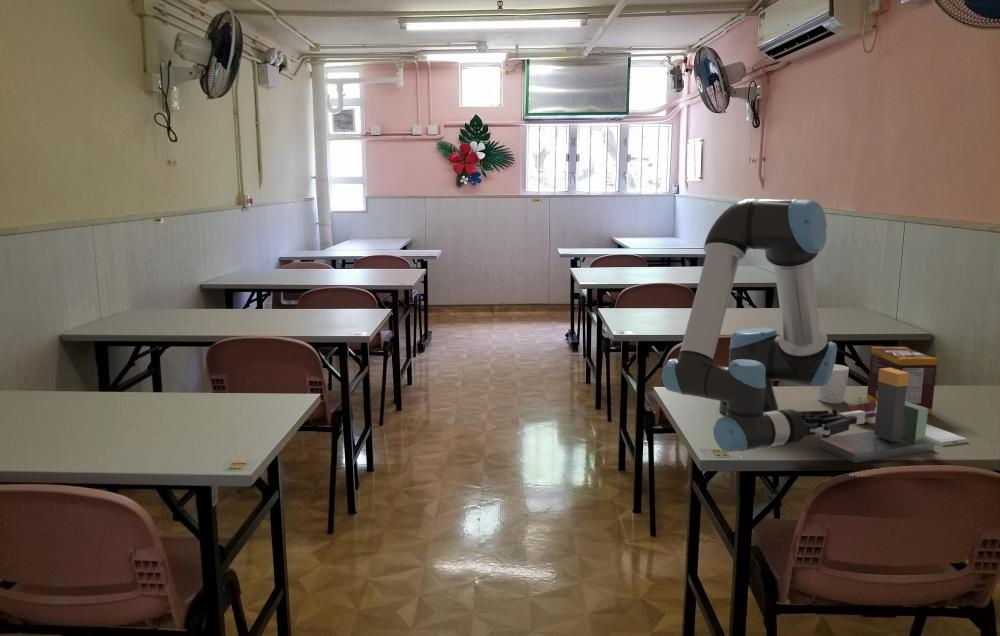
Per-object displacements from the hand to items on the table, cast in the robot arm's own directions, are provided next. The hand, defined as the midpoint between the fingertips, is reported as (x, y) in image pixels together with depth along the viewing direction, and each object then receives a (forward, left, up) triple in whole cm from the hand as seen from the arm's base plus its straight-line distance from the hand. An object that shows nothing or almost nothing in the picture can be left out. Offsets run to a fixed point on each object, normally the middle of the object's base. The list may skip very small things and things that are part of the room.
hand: (862, 416), depth 173 cm
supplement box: (+6, +46, -9) cm, 47 cm away
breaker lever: (+5, +7, -6) cm, 11 cm away
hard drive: (+15, +22, -9) cm, 28 cm away
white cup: (-11, +42, -9) cm, 44 cm away
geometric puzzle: (-1, +25, -9) cm, 27 cm away
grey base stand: (+3, +5, -9) cm, 10 cm away
